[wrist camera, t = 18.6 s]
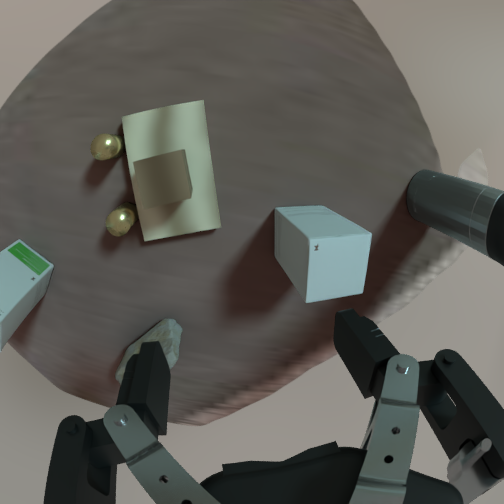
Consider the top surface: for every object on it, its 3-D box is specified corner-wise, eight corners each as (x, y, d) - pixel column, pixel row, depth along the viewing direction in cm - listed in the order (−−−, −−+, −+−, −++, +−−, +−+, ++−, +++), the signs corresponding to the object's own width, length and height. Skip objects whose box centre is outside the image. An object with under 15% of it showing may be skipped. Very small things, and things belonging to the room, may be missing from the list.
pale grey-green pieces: (203, 103, 31) (203, 100, 28) (219, 222, 37) (221, 227, 35) (127, 118, 29) (121, 117, 27) (148, 235, 36) (144, 241, 33)
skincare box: (55, 265, 34) (3, 323, 19) (45, 295, 35) (1, 356, 21) (18, 236, 31) (-42, 281, 16) (10, 269, 32) (-41, 319, 18)
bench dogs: (124, 132, 29) (112, 130, 25) (140, 222, 34) (132, 233, 29) (103, 138, 29) (89, 137, 24) (120, 226, 34) (109, 238, 29)
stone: (170, 307, 39) (165, 352, 30) (193, 330, 42) (194, 376, 33) (112, 346, 40) (99, 389, 31) (135, 365, 43) (127, 408, 33)
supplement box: (273, 257, 39) (302, 305, 28) (273, 206, 37) (307, 236, 25) (321, 253, 40) (363, 295, 29) (324, 204, 38) (374, 232, 26)
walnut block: (184, 149, 30) (181, 149, 25) (192, 189, 32) (191, 198, 27) (144, 159, 30) (132, 161, 24) (153, 198, 32) (143, 209, 26)
